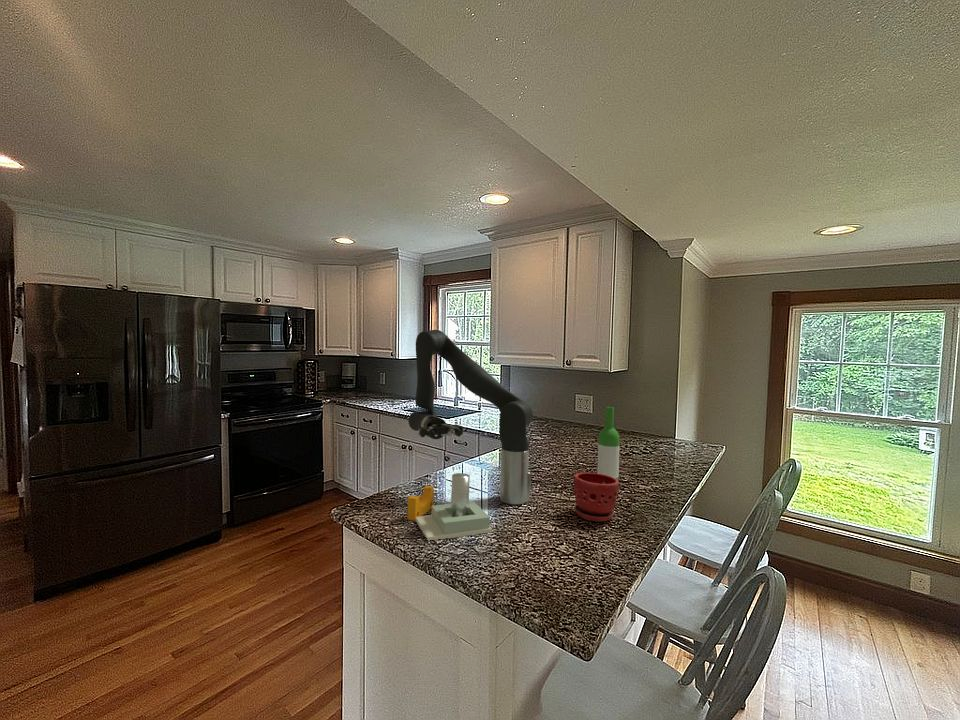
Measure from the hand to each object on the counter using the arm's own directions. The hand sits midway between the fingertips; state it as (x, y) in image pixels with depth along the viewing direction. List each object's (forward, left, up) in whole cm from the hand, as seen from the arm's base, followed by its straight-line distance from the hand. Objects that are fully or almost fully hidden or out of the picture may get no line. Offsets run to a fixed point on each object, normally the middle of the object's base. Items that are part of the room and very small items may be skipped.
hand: (446, 434), depth 129 cm
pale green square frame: (+2, +15, -23) cm, 27 cm away
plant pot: (-42, +21, -23) cm, 52 cm away
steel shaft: (0, +15, -22) cm, 26 cm away
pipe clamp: (+9, +2, -23) cm, 25 cm away
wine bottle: (-67, -4, -23) cm, 71 cm away
